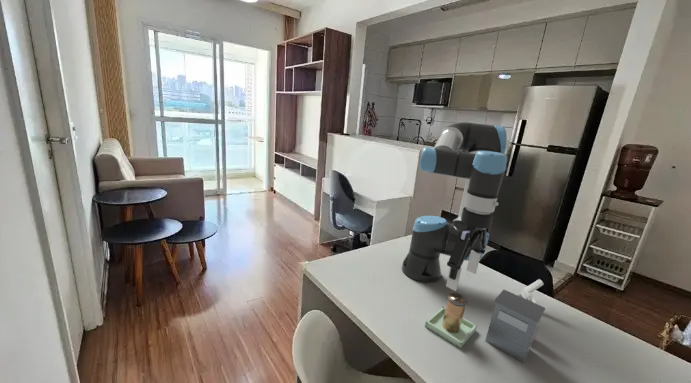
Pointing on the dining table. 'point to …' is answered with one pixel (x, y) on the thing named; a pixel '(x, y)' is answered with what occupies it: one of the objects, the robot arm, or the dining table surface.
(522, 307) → the box
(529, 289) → the hook
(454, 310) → the amber cylinder
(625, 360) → the dining table surface
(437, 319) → the tray
